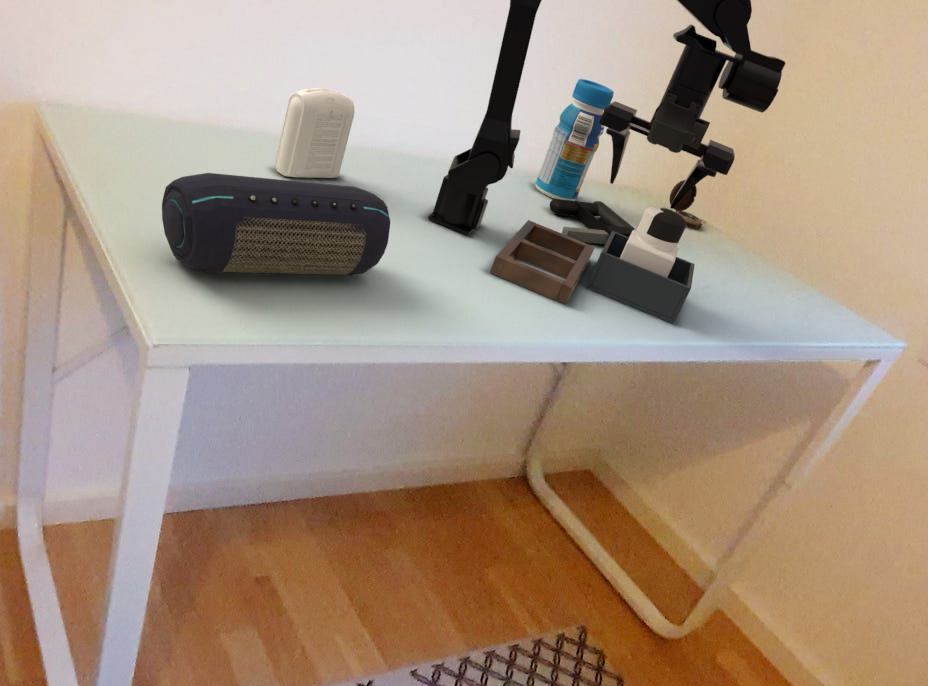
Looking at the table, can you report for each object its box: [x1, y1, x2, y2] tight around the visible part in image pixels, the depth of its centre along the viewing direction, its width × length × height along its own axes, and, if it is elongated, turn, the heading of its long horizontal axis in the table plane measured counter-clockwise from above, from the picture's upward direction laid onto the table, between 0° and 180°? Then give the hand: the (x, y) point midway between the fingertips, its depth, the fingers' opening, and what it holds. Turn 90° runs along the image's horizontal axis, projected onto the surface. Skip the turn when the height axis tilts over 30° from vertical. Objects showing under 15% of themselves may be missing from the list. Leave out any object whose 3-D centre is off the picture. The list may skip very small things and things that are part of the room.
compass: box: [668, 179, 707, 230], centre depth 168 cm, size 8×8×7 cm
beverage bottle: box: [534, 78, 614, 201], centre depth 152 cm, size 8×8×20 cm
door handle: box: [549, 198, 637, 247], centre depth 142 cm, size 3×20×16 cm
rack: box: [489, 219, 596, 305], centre depth 121 cm, size 11×21×2 cm, turn 162°
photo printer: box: [274, 87, 355, 179], centre depth 121 cm, size 10×4×12 cm, turn 134°
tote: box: [585, 231, 695, 325], centre depth 123 cm, size 13×12×6 cm
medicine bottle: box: [620, 205, 688, 277], centre depth 122 cm, size 7×7×12 cm
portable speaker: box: [161, 172, 391, 277], centre depth 92 cm, size 25×10×10 cm, turn 122°
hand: (641, 195), depth 121 cm, fingers open, 9 cm apart
